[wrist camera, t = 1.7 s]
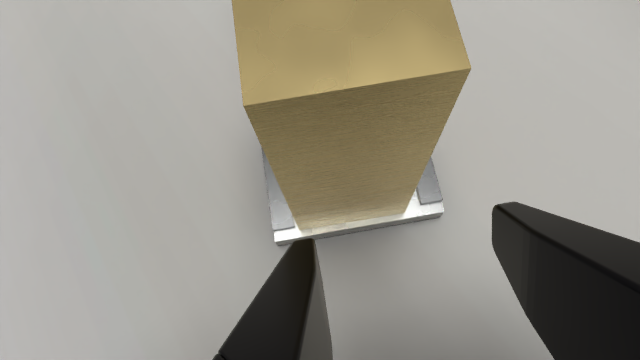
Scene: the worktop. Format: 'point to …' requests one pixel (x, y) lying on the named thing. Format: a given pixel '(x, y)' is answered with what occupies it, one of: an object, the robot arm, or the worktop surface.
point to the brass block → (348, 98)
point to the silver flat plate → (286, 230)
